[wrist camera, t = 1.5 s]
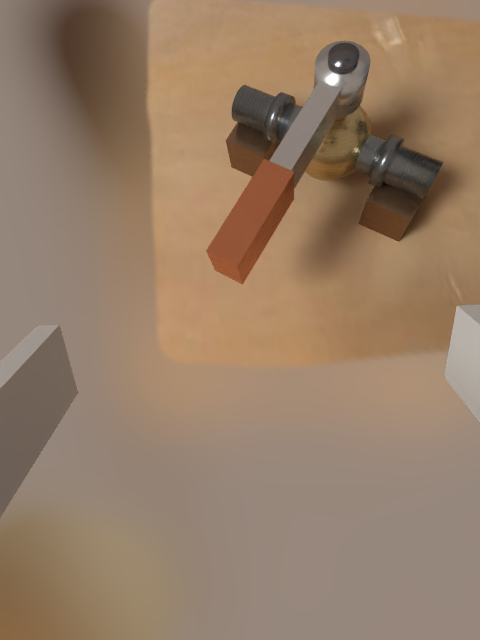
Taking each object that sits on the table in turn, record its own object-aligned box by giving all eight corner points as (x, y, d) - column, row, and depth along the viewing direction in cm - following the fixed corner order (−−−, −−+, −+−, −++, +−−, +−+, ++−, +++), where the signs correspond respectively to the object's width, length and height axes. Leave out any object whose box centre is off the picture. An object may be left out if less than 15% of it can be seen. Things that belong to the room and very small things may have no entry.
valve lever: (326, 73, 31) (331, 26, 28) (370, 89, 31) (381, 43, 27) (206, 265, 28) (194, 241, 25) (251, 289, 28) (246, 267, 24)
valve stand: (427, 187, 39) (473, 108, 29) (397, 244, 38) (434, 181, 28) (262, 119, 43) (254, 31, 33) (230, 169, 42) (213, 92, 32)
